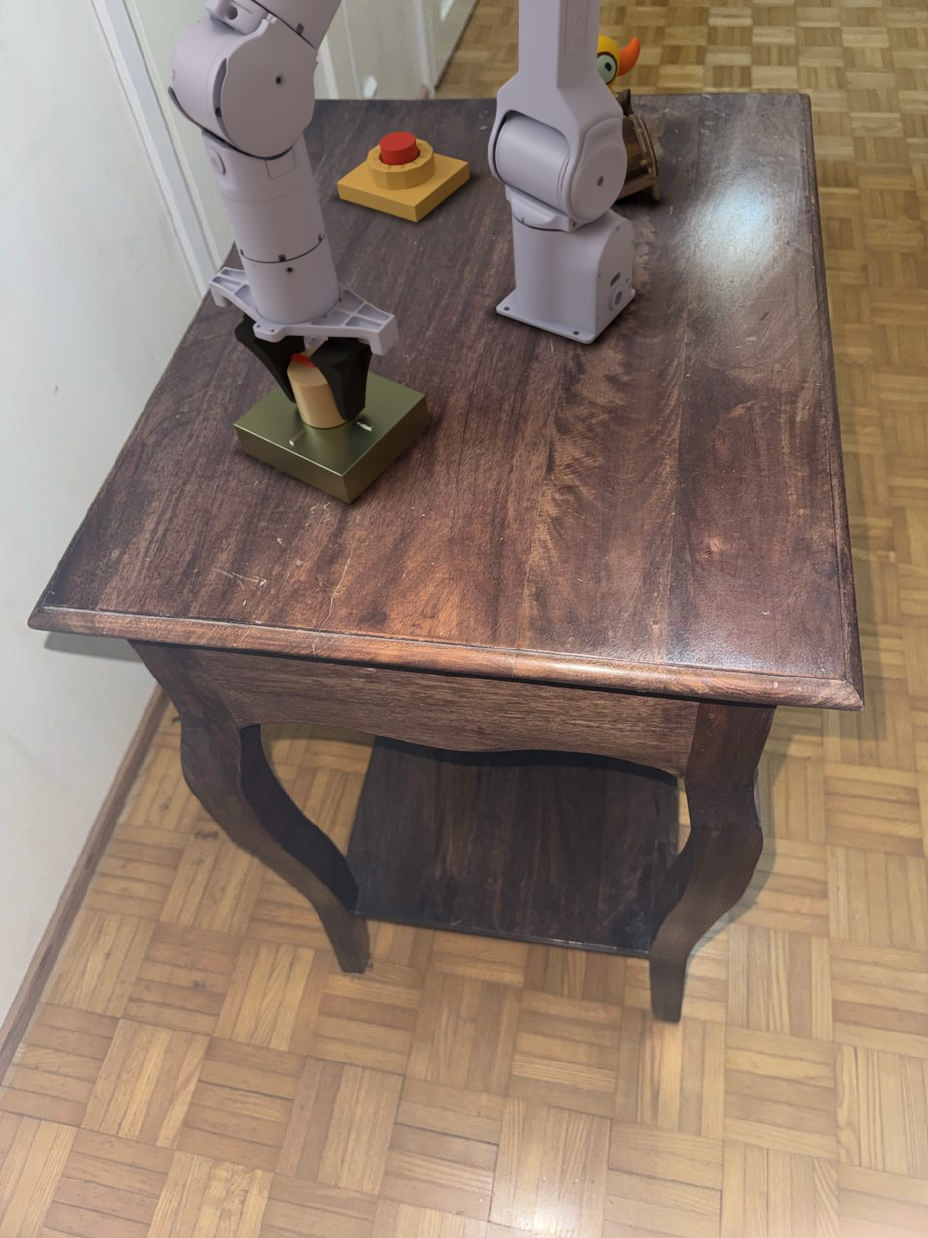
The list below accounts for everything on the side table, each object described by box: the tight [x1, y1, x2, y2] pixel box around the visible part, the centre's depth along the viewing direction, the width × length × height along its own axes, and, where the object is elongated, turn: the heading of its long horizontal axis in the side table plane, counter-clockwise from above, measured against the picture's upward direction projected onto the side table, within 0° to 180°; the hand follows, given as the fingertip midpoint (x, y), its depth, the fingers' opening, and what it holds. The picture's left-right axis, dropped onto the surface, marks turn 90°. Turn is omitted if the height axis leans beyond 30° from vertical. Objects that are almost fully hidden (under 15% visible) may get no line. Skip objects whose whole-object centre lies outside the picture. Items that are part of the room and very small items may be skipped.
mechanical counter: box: [615, 112, 661, 202], centre depth 85 cm, size 7×13×10 cm
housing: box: [336, 138, 471, 223], centre depth 91 cm, size 10×9×4 cm
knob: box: [287, 346, 346, 428], centre depth 67 cm, size 4×4×4 cm
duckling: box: [596, 34, 642, 92], centre depth 90 cm, size 11×5×10 cm, turn 110°
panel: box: [233, 370, 431, 505], centre depth 70 cm, size 11×10×3 cm
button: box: [379, 131, 418, 166], centre depth 89 cm, size 4×4×2 cm
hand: (327, 403), depth 68 cm, fingers closed on knob, 4 cm apart
